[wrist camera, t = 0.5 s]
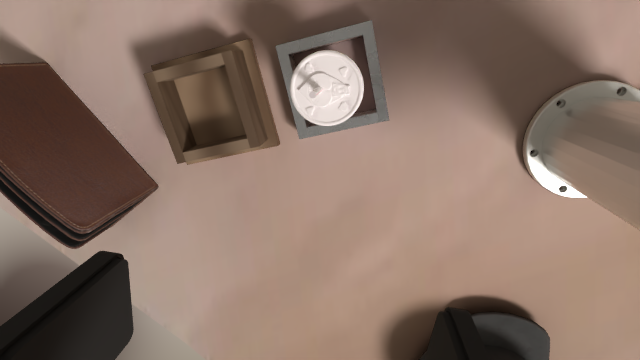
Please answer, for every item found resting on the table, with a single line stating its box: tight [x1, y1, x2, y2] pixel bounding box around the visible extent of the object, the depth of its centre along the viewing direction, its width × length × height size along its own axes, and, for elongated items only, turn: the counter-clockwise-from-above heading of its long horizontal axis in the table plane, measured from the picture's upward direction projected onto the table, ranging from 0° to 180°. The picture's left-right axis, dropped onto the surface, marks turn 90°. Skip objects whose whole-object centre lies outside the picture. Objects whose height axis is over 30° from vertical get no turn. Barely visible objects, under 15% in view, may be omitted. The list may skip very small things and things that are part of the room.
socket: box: [144, 39, 280, 165], centre depth 39 cm, size 12×12×4 cm
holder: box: [276, 20, 389, 139], centre depth 37 cm, size 10×10×2 cm
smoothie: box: [290, 50, 364, 126], centre depth 32 cm, size 6×6×14 cm
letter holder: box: [0, 63, 158, 249], centre depth 39 cm, size 10×20×14 cm, turn 38°
